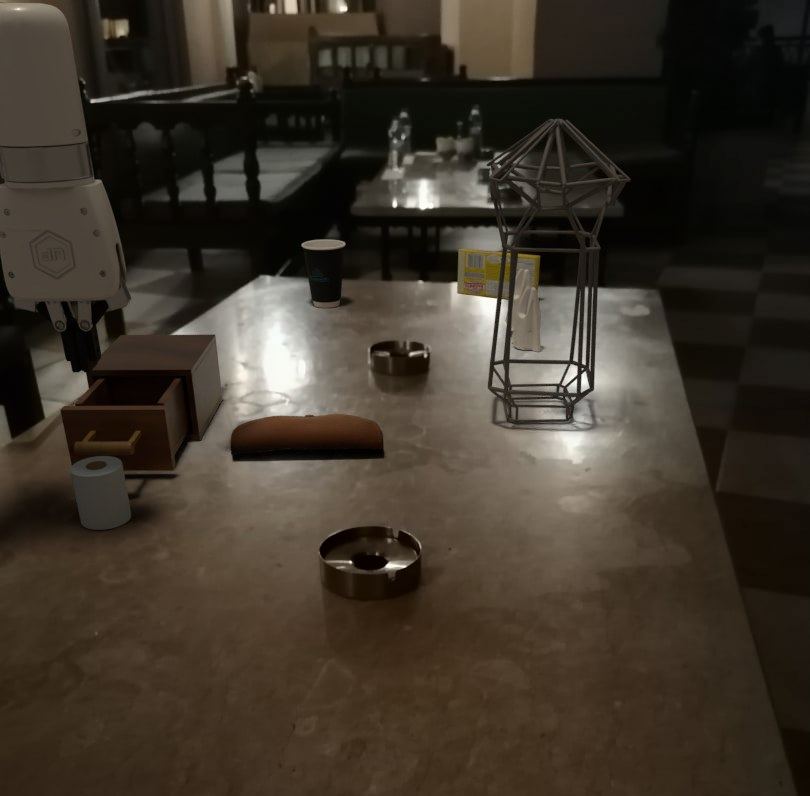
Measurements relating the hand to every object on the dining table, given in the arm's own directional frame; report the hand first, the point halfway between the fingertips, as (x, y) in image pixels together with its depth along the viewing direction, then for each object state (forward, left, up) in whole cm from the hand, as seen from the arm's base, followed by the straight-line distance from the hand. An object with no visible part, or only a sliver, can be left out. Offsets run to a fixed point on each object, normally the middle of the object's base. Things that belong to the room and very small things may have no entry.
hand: (85, 367), depth 88 cm
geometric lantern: (+48, +27, -15) cm, 58 cm away
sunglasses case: (+19, +16, -15) cm, 30 cm away
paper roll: (0, -3, -15) cm, 16 cm away
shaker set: (+49, +59, -15) cm, 79 cm away
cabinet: (-1, +25, -15) cm, 30 cm away
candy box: (+47, +88, -15) cm, 101 cm away
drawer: (-1, +12, -14) cm, 18 cm away
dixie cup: (+15, +83, -15) cm, 86 cm away
